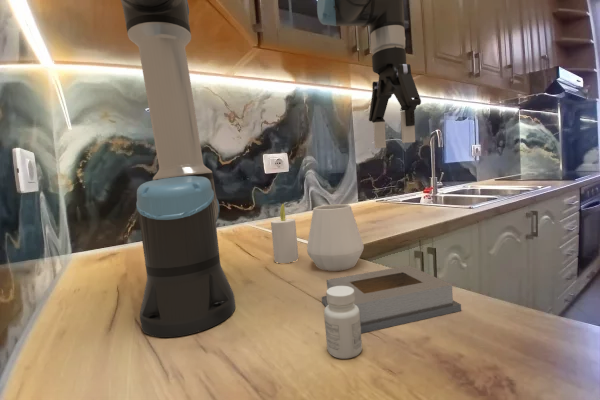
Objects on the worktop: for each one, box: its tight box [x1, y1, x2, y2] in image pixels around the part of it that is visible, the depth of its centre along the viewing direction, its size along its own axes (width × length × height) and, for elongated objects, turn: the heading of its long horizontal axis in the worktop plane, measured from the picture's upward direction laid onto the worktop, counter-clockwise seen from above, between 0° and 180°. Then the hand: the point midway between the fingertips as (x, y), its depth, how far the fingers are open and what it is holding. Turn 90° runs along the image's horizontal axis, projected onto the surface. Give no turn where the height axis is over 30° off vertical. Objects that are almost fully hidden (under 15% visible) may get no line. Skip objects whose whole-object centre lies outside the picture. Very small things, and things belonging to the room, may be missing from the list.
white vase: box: [306, 203, 365, 272], centre depth 75 cm, size 13×13×14 cm
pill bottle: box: [323, 286, 363, 360], centre depth 40 cm, size 4×4×8 cm
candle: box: [270, 203, 299, 264], centre depth 82 cm, size 6×6×15 cm
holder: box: [321, 264, 462, 334], centre depth 51 cm, size 18×12×4 cm, turn 105°
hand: (393, 145), depth 75 cm, fingers open, 13 cm apart
